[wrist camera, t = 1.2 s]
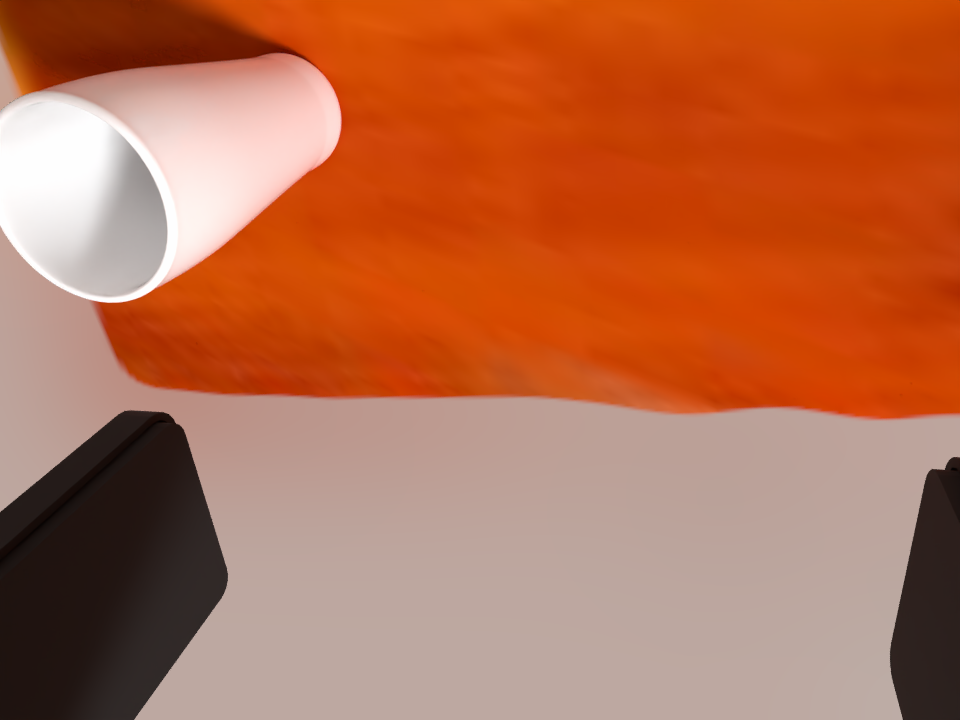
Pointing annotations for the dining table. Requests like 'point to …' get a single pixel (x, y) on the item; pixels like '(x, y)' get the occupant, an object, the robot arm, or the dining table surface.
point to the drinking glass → (155, 166)
